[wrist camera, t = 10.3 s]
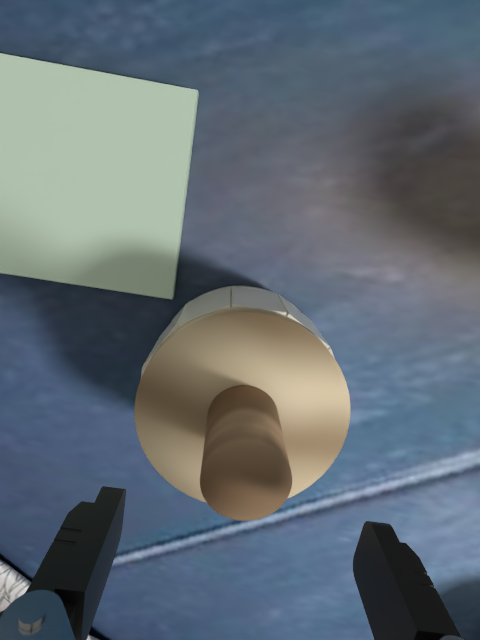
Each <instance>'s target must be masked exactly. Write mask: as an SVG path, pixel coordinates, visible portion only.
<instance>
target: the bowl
mask: <svg viewBox="0 0 480 640" xmlns="http://www.w3.org/2000/svg"><path fill="white" fill-rule="evenodd" d="M238 307H249V308H260V309H265V310H269V311H274V312H277V313H279V314H282V315H285V316H287V317H289V318H291V319H293V320H295V321H297V322H299V323H301V324H302V325H303V326H305V327H306V328H308V329H309V330H310V331H312V332H313V333H314V334H315V335H316V336H317V337H318V338H319V339H320V340H321V341H322V342H323V344H324V345H325V346H326V347H327V349H328V350H329V351H330V353H331V354H332V356H333V357H334V355H333V353H332V350H331V348H330V346H329V345H328V343H327V342H326V341H325V339H324V338H323V336H322V335H321V334H320V332H319V331H318V329H317V328H316V327H315V325H314V324H313V322H312V321H311V320H310V319H309V318H307V317H306V316H305V315H304V314H302V312H301V311H300V310H299V309H298V308H297V307H296V306H294V305H293V304H292V303H291V302H289V301H288V300H287V299H285V298H284V297H282V296H280V295H279V294H277V293H274V292H271V291H269V290H266V289H263V288H258V287H254V286H244V285H239V286H227V287H221V288H217V289H214V290H211V291H208V292H206V293H204V294H202V295H200V296H198V297H196V298H195V299H193V300H192V301H189V302H188V303H186V304H185V305H184V307H183V308H182V309H181V310H180V311H179V312H178V313H177V314H176V315H175V317H174V318H173V320H172V321H171V323H170V324H169V325H168V327H167V328H166V329H165V330H164V332H163V333H162V334H161V335H160V337H159V339H158V340H157V342H156V344H155V346H154V347H153V349H152V351H151V352H150V354H149V356H148V358H147V359H146V361H145V363H144V365H143V367H142V373H141V377H142V375H143V373H144V371H145V369H146V367H147V365H148V363H149V361H150V360H151V358H152V356H153V355H154V353H155V352H156V350H157V349H158V347H159V346H160V345H161V344H162V343H163V342H164V341H165V339H166V338H167V337H168V336H169V335H170V334H172V333H173V332H174V331H175V330H177V329H178V328H179V327H181V326H182V325H184V324H185V323H187V322H189V321H190V320H192V319H194V318H197V317H199V316H201V315H203V314H206V313H210V312H213V311H216V310H221V309H227V308H238ZM334 359H335V358H334Z"/></svg>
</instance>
